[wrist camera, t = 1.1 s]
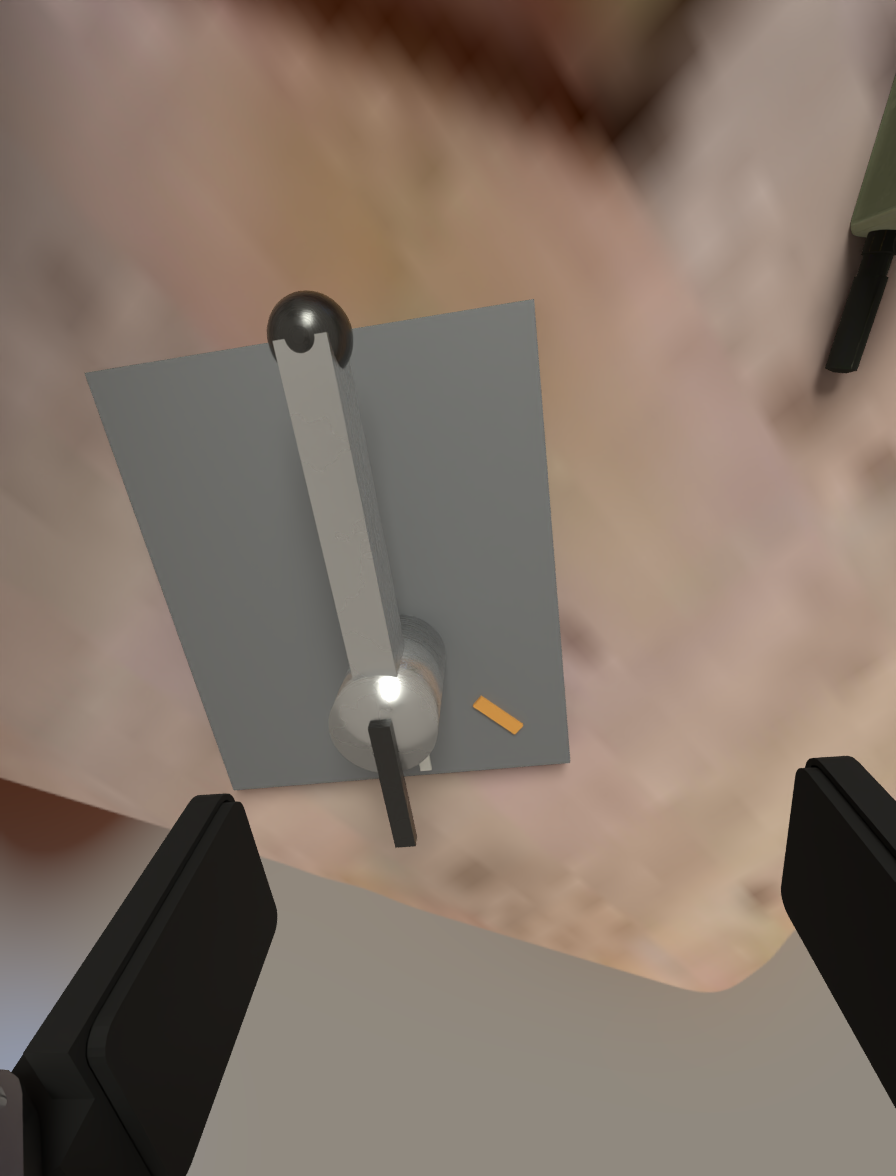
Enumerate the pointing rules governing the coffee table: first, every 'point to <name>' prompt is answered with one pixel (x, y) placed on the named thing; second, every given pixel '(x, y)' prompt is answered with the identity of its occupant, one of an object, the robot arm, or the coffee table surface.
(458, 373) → the stand plate
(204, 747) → the coffee table surface
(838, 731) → the coffee table surface
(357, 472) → the bar with ball ends
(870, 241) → the handheld radio
